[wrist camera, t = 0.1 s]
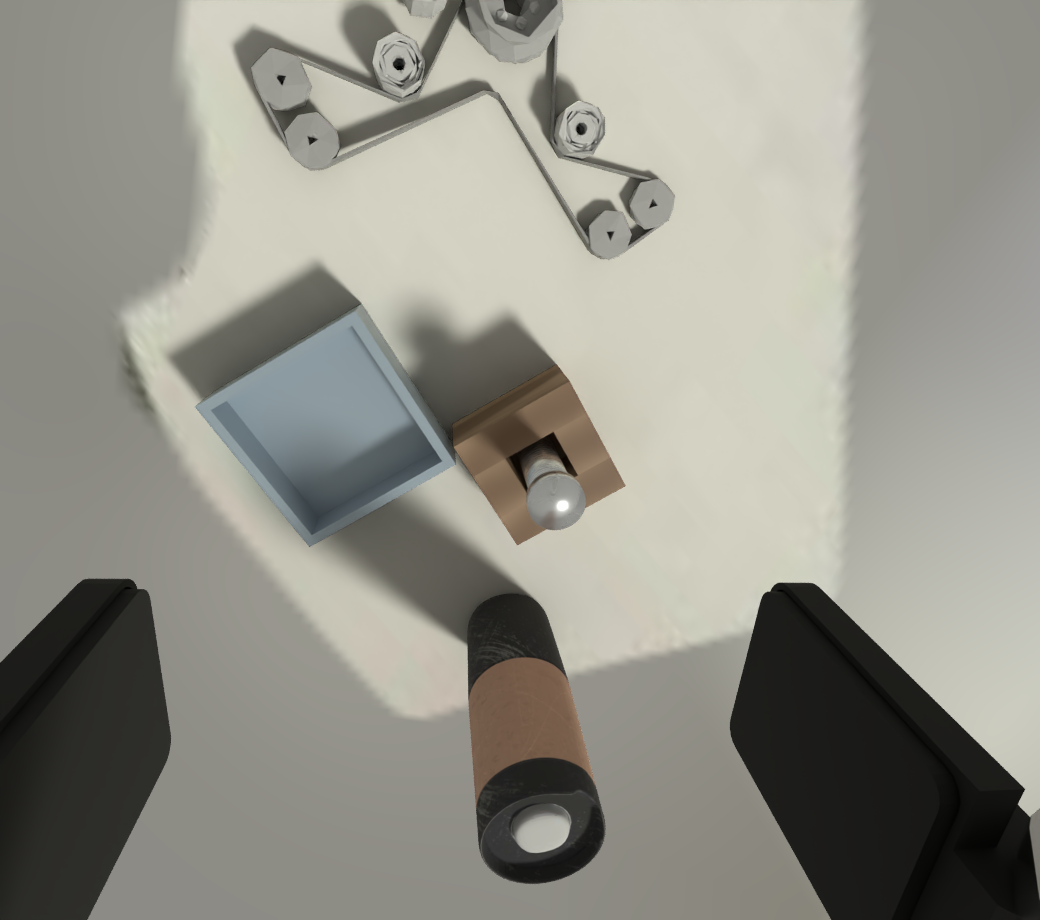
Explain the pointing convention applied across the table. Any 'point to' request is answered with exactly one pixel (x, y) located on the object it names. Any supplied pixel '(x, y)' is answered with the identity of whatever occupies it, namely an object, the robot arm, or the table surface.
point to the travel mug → (527, 748)
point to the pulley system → (507, 44)
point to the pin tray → (331, 427)
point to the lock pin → (550, 487)
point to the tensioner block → (519, 423)
